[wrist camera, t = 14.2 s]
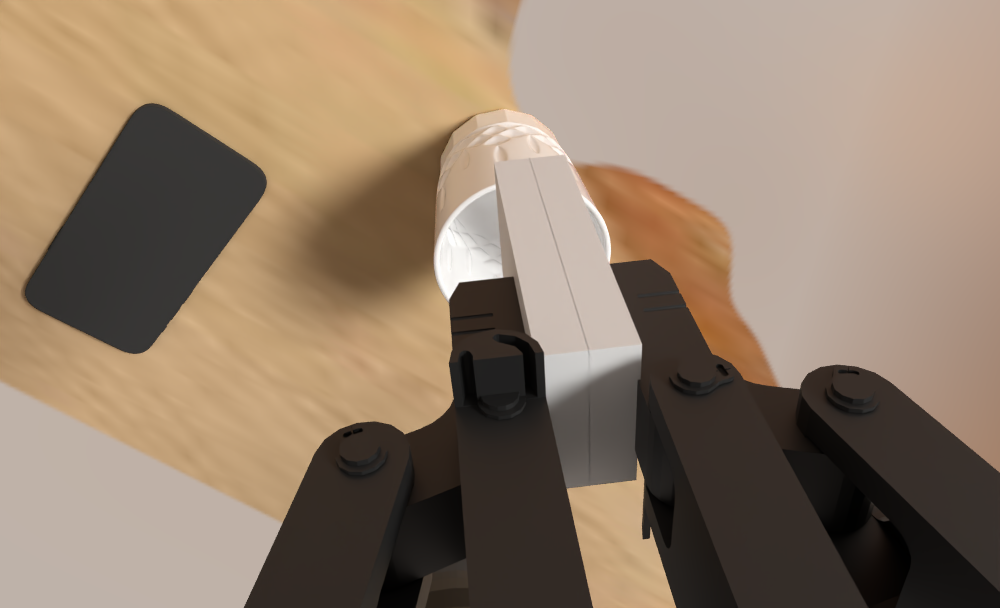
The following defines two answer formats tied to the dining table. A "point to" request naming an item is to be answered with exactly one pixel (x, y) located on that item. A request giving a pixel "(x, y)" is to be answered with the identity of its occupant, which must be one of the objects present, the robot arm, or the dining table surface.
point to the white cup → (486, 194)
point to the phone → (145, 230)
